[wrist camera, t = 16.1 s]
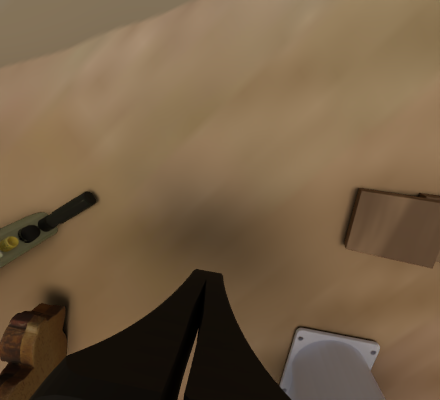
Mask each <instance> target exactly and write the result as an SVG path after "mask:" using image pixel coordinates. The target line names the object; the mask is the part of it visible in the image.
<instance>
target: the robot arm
mask: <svg viewBox="0 0 440 400" xmlns="http://www.w3.org/2000/svg"><path fill="white" fill-rule="evenodd" d="M198 328H199V329H198ZM197 331H198V338H197V345H196V349H195V353H194V357H193V361H192V365H191V369H190V373H189V377H188V381H187V385H186V389H185V393H184V400H386V399H385V397H384V395H383V393H382V392H381V390H380V388H379V386H378V384H377V382H376V380H375V378H374V376H373V375H372V373H371V368H372V366H373V364H374V362H375V359H376V357H377V355H378V353H379V350H380V346H379V344H378V343H377V342H374V341H368V340H363V339H358V338H353V337H348V336H342V335H337V334H332V333H327V332H322V331H316V330H311V329H306V328H298V329H297V330H296V333H295V336H294V339H293V342H292V346H291V349H290V352H289V356H288V359H287V362H286V365H285V369H284V372H283V375H282V378H281V382H280V385H278V384H277V383H276V382H275V381H274V380H273V378H272V377H271V376H270V374H269V373H268V372H267V371H266V369H265V368H264V367H263V365H262V364H261V362H260V361H259V359H258V358H257V356H256V355H255V353H254V352H253V350H252V349H251V347H250V346H249V344H248V342H247V340H246V339H245V337H244V335H243V333H242V331H241V329H240V327H239V325H238V323H237V321H236V319H235V316H234V314H233V312H232V309H231V306H230V304H229V301H228V298H227V294H226V291H225V287H224V282H223V275H222V274H220V273H215V272H209V271H204V270H199V269H195V270H194V271H193V272H192V273H191V275H190V276H189V277H188V278H187V280H186V281H185V282H184V283H183V284H182V285H181V286H180V287H179V288H178V289H177V290H176V291H175V292H174V293H173V294H172V295H171V296H170V297H169V298H168V299H167V300H165V301H164V302H163V303H162V304H161V305H160V306H158V307H157V308H156V309H155V310H153V311H152V312H151V313H149V314H148V315H146V316H145V317H144V318H142V319H141V320H139V321H137V322H136V323H134V324H133V325H131V326H130V327H128V328H126V329H125V330H123V331H121V332H119V333H117V334H115V335H113V336H112V337H110V338H108V339H106V340H104V341H101V342H99V343H97V344H95V345H92V346H90V347H88V348H85V349H83V350H80V351H78V352H75V353H73V354H70V355H68V356H66V357H65V358H64V359H63V360H62V361H61V362H60V363H59V364H58V365H57V366H56V367H55V368H54V370H53V371H52V372H51V373H50V374H49V375H48V376H47V377H46V379H45V380H44V381H43V382H42V384H41V385H40V386H39V388H38V389H37V390H36V391H35V393H34V394H33V395H32V396H31V398H30V399H29V400H177V399H178V395H179V390H180V386H181V383H182V379H183V375H184V372H185V369H186V366H187V363H188V360H189V356H190V353H191V350H192V347H193V344H194V341H195V337H196V334H197ZM299 337H301V338H299Z"/></svg>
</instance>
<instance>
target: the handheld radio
mask: <svg viewBox="0 0 440 400" xmlns="http://www.w3.org/2000/svg"><path fill="white" fill-rule="evenodd" d="M95 203H96V199H95V197H94V195H93V194H92V193H90V192H87V191H86V192H84V193H82V194H81V195H79V196H78V197H76V198H74V199H73V200H71V201H70V202H68V203H66V204H65V205H63V206H62V207H60V208H58V209H57V210H55V211H53V212H52V214H50V215H48V214H47V213H45V212H40V213H37V214H33V215H30V216H27V217H25V218H23V219H21V220H18V221H16V222H14V223H12V224H10V225H8V226H5V227H3V228H1V229H0V268H1V267H2V266H4V265H6V264H7V263H9V262H10V261H12V260H14V259H15V258H17V257H19V256H20V255H22V254H23V253H25V252H27V251H28V250H30V249H31V248H33V247H35V246H36V245H38V244H39V243H41V242H43V241H44V240H46V239H47V238H49V237H51V236H52V235H54V234H55V233H57V231H58V228H57V225H59V224H61V223H64V222H65V221H67V220H69V219H70V218H72V217H74V216H75V215H77V214H79V213H80V212H82V211H84V210H85V209H87V208H89V207H90V206H92V205H94V204H95Z"/></svg>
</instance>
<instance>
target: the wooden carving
mask: <svg viewBox="0 0 440 400" xmlns="http://www.w3.org/2000/svg"><path fill="white" fill-rule="evenodd" d="M65 311H66V310H65V307H64V306H60V305H47V304H43V303H41V304H39V305H38V306H37V307H36V308H34V309H33V310H32V311H24V312H22V313H17V314H16V315H15V316H14V317H13V318H12V319H11V321H10V323H9V325H8V327H7V329H6V330H5V332H4V334H3V337H2V340H1V342H0V358H1V360H2V361H6V362H8V364H7V366H6V367H5V368H4V369H3V371H2V372H1V374H0V400H29V399H30V398H31V396H32V395H33V394H34V393H35V391H36V390H37V389H38V388H39V386H40V385H41V384H42V382H43V381H44V380H45V379H46V377H47V376H48V375H49V374H50V373H51V372H52V371H53V370H54V368H55V367H56V366H57V365H58V364H59V363H60V362H61V361H62V360H63V359H64V358H65V357H66V354H67V339H66V335H65V334H64V332H63V331H62V330H63V324H64V319H65Z"/></svg>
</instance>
